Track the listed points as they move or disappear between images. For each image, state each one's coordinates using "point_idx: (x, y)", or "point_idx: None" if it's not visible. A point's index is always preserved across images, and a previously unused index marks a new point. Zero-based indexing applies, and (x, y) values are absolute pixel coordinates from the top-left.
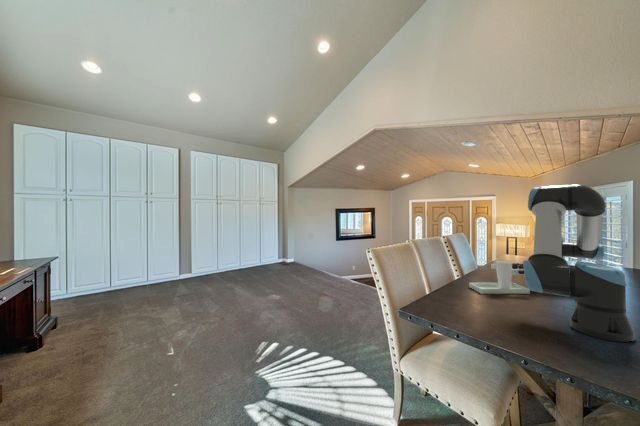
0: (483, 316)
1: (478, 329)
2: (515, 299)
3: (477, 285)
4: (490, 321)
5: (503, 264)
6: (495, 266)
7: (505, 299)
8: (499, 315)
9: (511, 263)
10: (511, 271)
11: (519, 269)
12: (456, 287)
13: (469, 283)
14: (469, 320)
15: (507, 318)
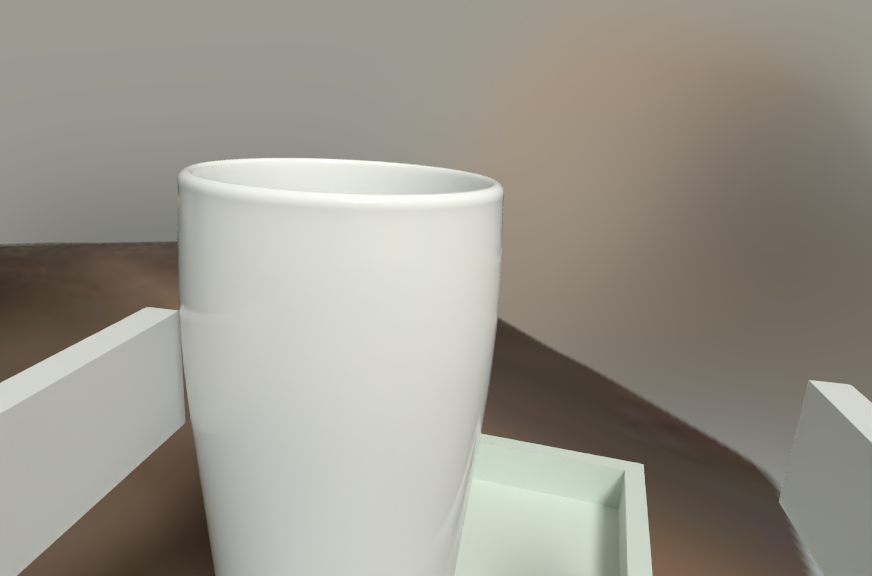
0: (136, 298)
1: (100, 259)
2: (71, 572)
3: (621, 548)
4: (90, 290)
5: (282, 185)
6: (846, 508)
7: (159, 500)
8: (78, 326)
9: (177, 183)
10: (174, 354)
11: (6, 384)
12: (629, 439)
13: (630, 467)
14: (159, 271)
15: (32, 325)
